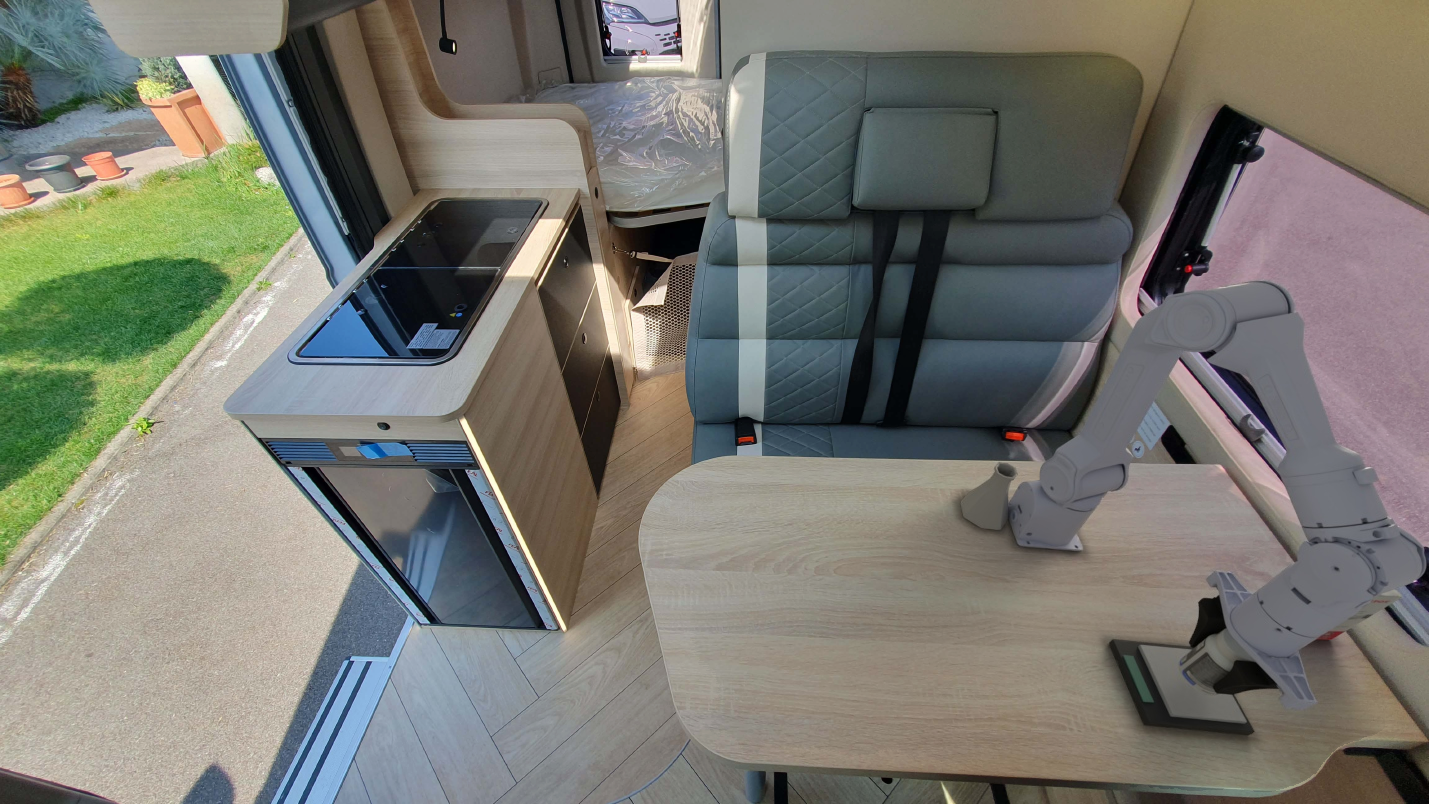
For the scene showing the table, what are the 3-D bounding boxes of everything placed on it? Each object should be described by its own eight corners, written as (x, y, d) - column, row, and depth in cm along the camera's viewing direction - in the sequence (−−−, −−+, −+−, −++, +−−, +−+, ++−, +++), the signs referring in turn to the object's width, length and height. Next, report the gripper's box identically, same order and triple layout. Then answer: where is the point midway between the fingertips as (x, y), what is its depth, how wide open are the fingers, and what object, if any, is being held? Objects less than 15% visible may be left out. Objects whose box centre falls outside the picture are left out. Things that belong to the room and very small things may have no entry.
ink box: (1306, 607, 80) (1373, 560, 72) (1333, 642, 77) (1407, 596, 69) (1244, 605, 80) (1304, 557, 72) (1268, 639, 77) (1335, 593, 69)
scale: (1143, 725, 68) (1151, 719, 67) (1108, 642, 76) (1115, 636, 75) (1248, 735, 68) (1258, 730, 67) (1202, 651, 75) (1211, 645, 74)
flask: (1009, 503, 92) (1034, 462, 86) (1005, 537, 88) (1031, 496, 81) (962, 487, 95) (983, 445, 88) (956, 520, 90) (977, 478, 83)
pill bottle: (1229, 700, 67) (1278, 669, 62) (1185, 691, 68) (1230, 660, 62) (1212, 660, 71) (1257, 628, 65) (1170, 652, 72) (1211, 619, 66)
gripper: (1387, 687, 53) (1285, 739, 62) (1285, 552, 64) (1211, 613, 73) (1307, 680, 54) (1218, 732, 63) (1219, 547, 64) (1154, 608, 73)
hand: (1210, 667), depth 68 cm, fingers closed on pill bottle, 5 cm apart
